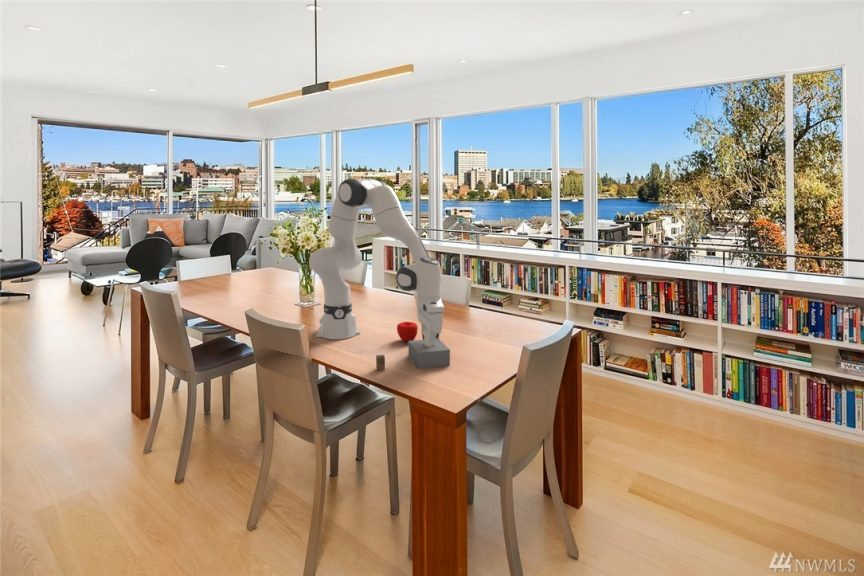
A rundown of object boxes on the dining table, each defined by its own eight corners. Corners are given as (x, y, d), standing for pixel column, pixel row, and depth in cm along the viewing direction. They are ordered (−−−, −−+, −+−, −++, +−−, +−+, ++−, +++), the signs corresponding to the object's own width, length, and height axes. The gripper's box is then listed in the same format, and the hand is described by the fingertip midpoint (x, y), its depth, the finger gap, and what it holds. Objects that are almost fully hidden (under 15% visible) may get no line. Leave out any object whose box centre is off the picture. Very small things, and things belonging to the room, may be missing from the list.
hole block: (408, 355, 183) (408, 340, 181) (438, 352, 186) (438, 338, 185) (418, 368, 169) (418, 352, 168) (449, 365, 173) (450, 349, 172)
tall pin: (424, 359, 179) (424, 329, 176) (430, 358, 179) (431, 328, 177) (426, 361, 176) (426, 331, 174) (432, 361, 177) (433, 330, 174)
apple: (394, 338, 203) (394, 321, 202) (414, 336, 206) (414, 319, 204) (399, 345, 195) (399, 326, 193) (420, 343, 198) (420, 325, 196)
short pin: (376, 368, 169) (376, 355, 168) (383, 367, 170) (383, 354, 169) (377, 371, 167) (377, 357, 166) (384, 370, 168) (384, 357, 167)
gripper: (413, 296, 182) (413, 331, 185) (428, 309, 163) (428, 347, 166) (429, 295, 184) (428, 330, 187) (445, 308, 165) (445, 346, 167)
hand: (428, 338), depth 176 cm, fingers open, 8 cm apart
